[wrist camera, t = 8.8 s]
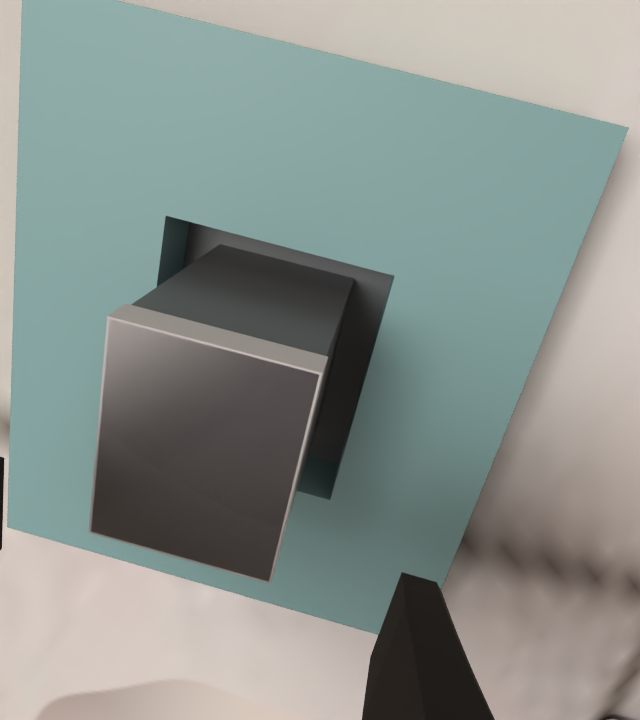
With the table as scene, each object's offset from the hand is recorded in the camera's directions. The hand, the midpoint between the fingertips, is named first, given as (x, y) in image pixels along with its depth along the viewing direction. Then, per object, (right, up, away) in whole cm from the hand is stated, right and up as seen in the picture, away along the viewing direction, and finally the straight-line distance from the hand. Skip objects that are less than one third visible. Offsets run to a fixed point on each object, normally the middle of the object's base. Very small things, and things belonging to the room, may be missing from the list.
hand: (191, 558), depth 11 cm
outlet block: (+1, +4, +8) cm, 9 cm away
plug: (+1, +4, +8) cm, 9 cm away
